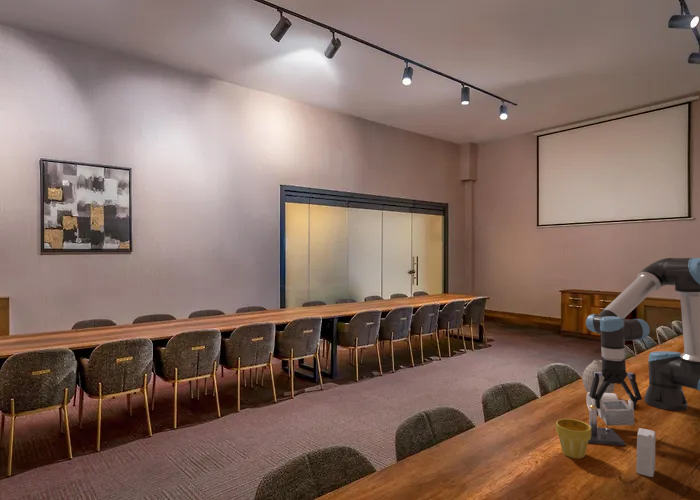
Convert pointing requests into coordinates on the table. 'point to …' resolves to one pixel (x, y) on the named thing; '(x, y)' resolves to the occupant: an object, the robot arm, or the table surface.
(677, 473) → the table surface
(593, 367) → the vase
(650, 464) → the skincare box
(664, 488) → the table surface
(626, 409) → the link
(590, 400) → the mug
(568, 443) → the plant pot
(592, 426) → the keeper
